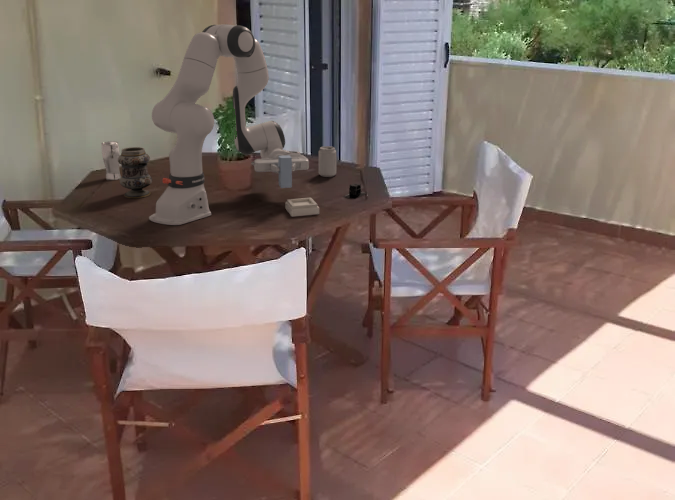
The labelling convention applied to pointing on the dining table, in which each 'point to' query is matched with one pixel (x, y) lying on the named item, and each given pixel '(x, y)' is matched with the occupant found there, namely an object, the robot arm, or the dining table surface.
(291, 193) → the dining table surface
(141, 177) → the apothecary jar
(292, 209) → the footing
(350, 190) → the black box
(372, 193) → the dining table surface
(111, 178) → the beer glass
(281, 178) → the pillar
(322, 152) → the can
